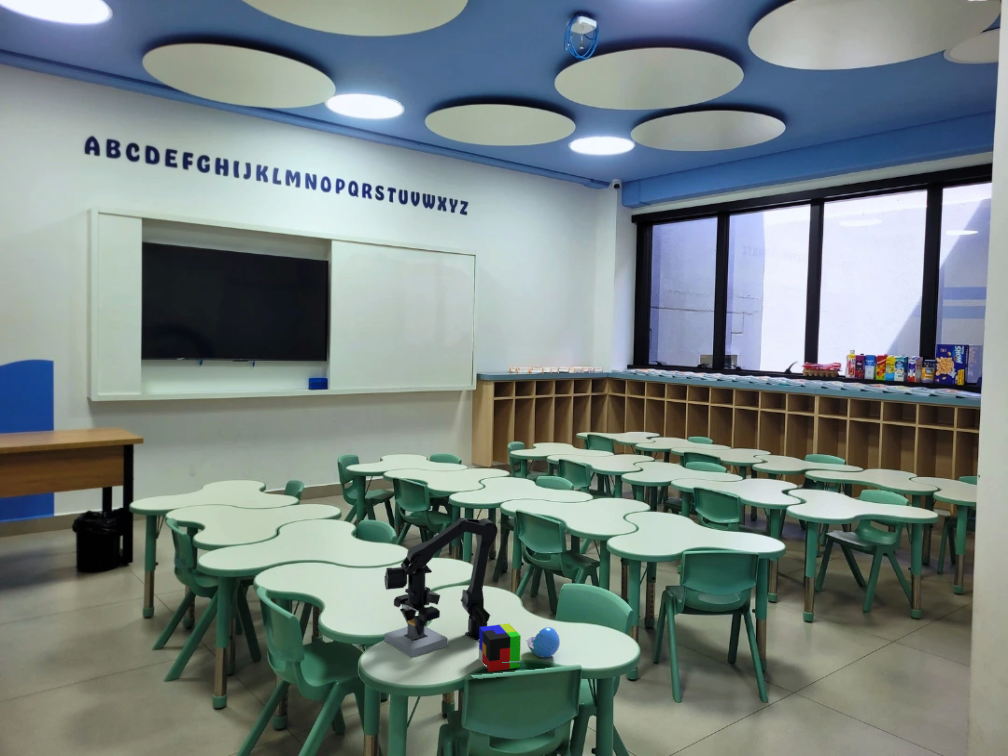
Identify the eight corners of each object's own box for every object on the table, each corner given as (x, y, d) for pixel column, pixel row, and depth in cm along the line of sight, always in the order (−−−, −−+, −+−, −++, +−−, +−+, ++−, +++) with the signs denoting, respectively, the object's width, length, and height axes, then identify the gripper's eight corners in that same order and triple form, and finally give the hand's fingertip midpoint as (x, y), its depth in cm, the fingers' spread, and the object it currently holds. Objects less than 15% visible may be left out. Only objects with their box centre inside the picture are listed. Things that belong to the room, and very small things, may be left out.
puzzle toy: (478, 658, 222) (479, 627, 222) (508, 653, 226) (508, 623, 225) (489, 672, 213) (489, 639, 212) (519, 667, 216) (520, 635, 216)
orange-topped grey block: (424, 636, 232) (424, 621, 231) (414, 639, 229) (414, 624, 229) (417, 632, 235) (417, 617, 234) (407, 635, 232) (407, 620, 232)
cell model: (543, 645, 233) (544, 616, 232) (566, 659, 222) (566, 629, 222) (518, 651, 227) (519, 622, 227) (540, 666, 217) (541, 636, 217)
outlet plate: (447, 645, 231) (447, 638, 231) (411, 657, 221) (412, 649, 221) (419, 630, 243) (419, 623, 242) (384, 640, 233) (384, 633, 233)
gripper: (453, 588, 229) (452, 635, 230) (420, 574, 243) (419, 618, 244) (425, 596, 222) (424, 644, 223) (393, 580, 236) (392, 626, 237)
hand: (416, 632), depth 232 cm, fingers closed on orange-topped grey block, 4 cm apart
